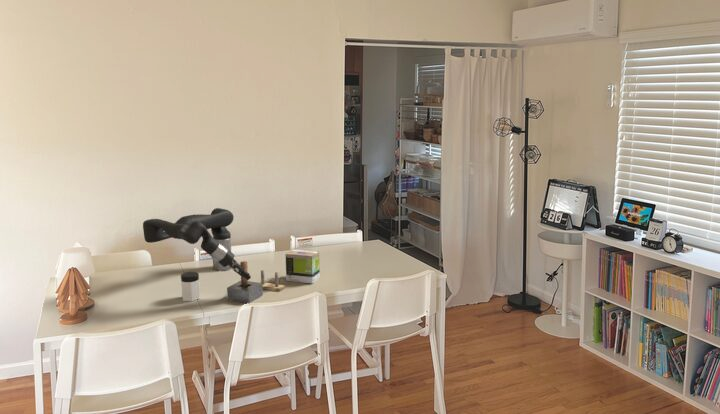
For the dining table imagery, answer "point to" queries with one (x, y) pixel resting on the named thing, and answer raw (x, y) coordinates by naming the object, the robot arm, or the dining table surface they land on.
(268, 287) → the peg rack
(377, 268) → the dining table surface
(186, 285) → the jar
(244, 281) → the walnut pin
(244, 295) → the block
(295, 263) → the tea box
